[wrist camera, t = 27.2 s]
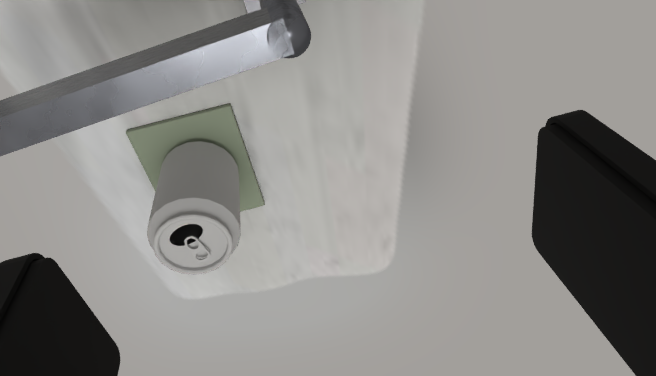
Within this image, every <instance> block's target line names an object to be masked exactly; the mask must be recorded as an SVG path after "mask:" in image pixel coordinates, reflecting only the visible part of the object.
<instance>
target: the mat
mask: <svg viewBox="0 0 656 376" xmlns="http://www.w3.org/2000/svg"><path fill="white" fill-rule="evenodd" d="M126 134H127V136H128V138H129V140H130V142H131V144H132V146H133V148H134V150H135V152H136V154H137V156H138V158H139V160H140V162H141V164H142V166H143V168H144V170H145V172H146V174H147V176H148V178H149V180H150V182H151V184H152V186H153V187H154V189H155V191H156V188H157V184H158V179H159V175H160V171H161V166H162V163H163V161H164V159H165V158H166V156H167V154H168V153H170V152H171V151H172V150H173V149H174V148H176V147H177V146H180V145H182V144H185V143H188V142H198V141H202V142H207V143H213V144H215V145H217V146H219V147H221V148H223V149H225V150H226V151H227V152H228V153H229V154H230V155H231V156H232V157H233V159H234V160H235V162H236V164H237V166H238V172H239V195H240V211H244V210H248V209H252V208H256V207H259V206H263V205H265V203H264V199H263V197H262V194H261V191H260V188H259V185H258V182H257V179H256V176H255V174H254V171H253V168H252V165H251V162H250V159H249V156H248V153H247V151H246V148H245V145H244V142H243V139H242V136H241V133H240V130H239V127H238V125H237V122H236V119H235V116H234V113H233V110H232V107H231V104H226V105H222V106H218V107H214V108H210V109H206V110H202V111H199V112H195V113H191V114H187V115H183V116H179V117H175V118H171V119H167V120H164V121H160V122H156V123H152V124H148V125H144V126H140V127H136V128H133V129H129V130H127V131H126Z"/></svg>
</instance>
